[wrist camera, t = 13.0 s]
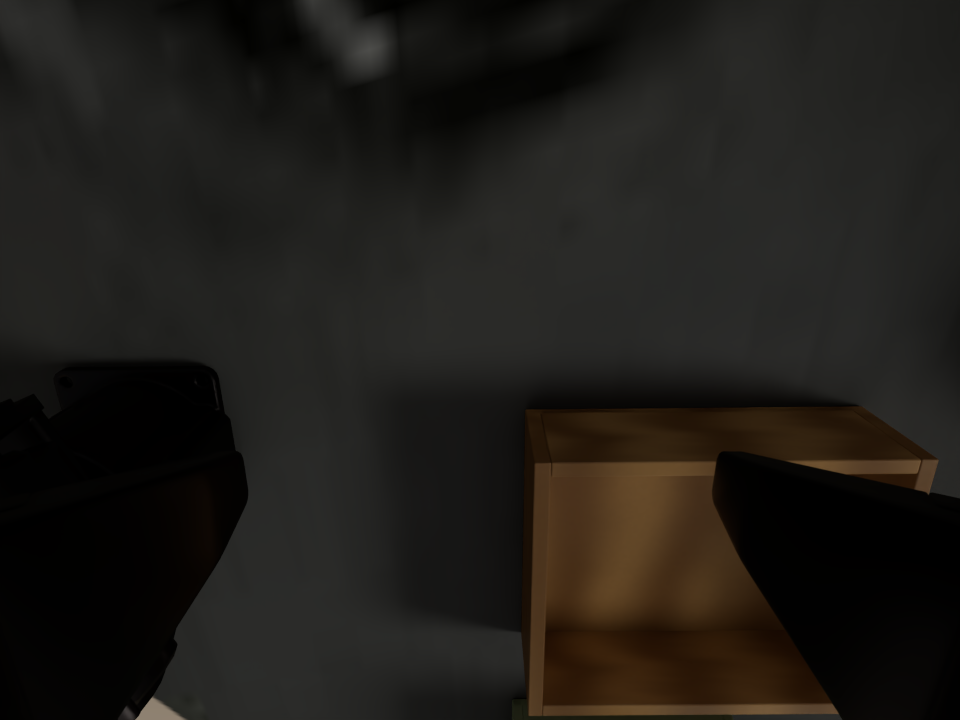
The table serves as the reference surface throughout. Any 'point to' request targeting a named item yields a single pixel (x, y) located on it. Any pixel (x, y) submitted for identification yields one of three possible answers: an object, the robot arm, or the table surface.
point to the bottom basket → (669, 557)
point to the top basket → (521, 715)
